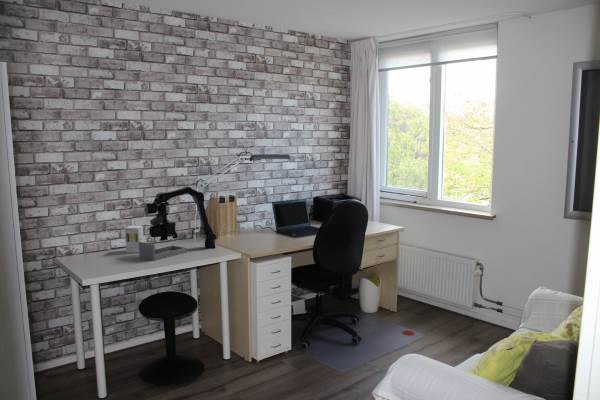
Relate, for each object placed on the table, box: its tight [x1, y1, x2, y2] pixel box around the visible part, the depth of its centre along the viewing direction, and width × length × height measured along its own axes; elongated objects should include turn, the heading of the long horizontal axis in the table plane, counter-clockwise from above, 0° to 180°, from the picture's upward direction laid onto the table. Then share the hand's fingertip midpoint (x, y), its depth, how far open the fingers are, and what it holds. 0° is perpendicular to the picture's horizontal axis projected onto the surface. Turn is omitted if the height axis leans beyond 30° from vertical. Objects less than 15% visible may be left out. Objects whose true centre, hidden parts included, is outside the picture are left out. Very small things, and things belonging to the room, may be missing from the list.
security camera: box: [148, 224, 179, 242], centre depth 319 cm, size 7×18×10 cm, turn 134°
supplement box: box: [124, 225, 145, 254], centre depth 331 cm, size 10×9×17 cm
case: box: [139, 242, 188, 262], centre depth 319 cm, size 27×14×10 cm, turn 144°
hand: (163, 236), depth 319 cm, fingers closed on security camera, 7 cm apart
